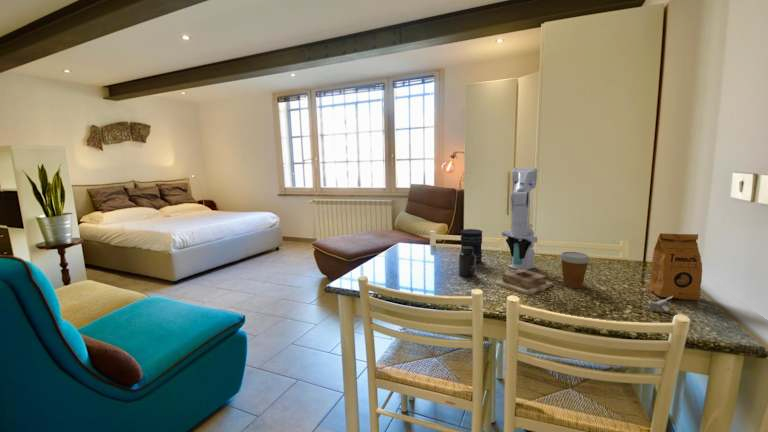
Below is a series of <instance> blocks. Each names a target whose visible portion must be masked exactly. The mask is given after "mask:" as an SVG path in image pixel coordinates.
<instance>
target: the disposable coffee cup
mask: <svg viewBox="0 0 768 432" xmlns="http://www.w3.org/2000/svg"><path fill="white" fill-rule="evenodd" d="M559 258H560V261H561V269H562V283H563V286H564V287H567V288H570V289H582V288H583V285H584V281H585V276H586V272H587V266H588V263H589V261H590V258H589V256H588V254H586V253H583V252H578V251H563V252H562V253H561V255H560V256H559Z"/></svg>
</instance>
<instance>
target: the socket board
mask: <svg viewBox="0 0 768 432" xmlns="http://www.w3.org/2000/svg"><path fill="white" fill-rule="evenodd" d="M494 284H495V285H497V286H500V287H503V288H506V289H507V290H511V291H514V292H517V293H520V294H523V295H525V296H529V295H531V294H535V293H537V292H540V291H543V290H546V289H548V288H550V287H553V286H554V282H550V281H548V280H547V275H545V274H542V273H538V272H535V271H532V270H529V269H528V270H525V269H518V270H517V269H514V270H511V271H508V272H504V273H502V279H499V280H495V281H494Z"/></svg>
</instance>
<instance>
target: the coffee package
mask: <svg viewBox="0 0 768 432" xmlns="http://www.w3.org/2000/svg"><path fill="white" fill-rule="evenodd" d="M698 239H699V234H698V233H697V234H696V233H661V232H660V233H659V234H658V237H657V241H656V243H655V245H654V247H653V253H652V260H651V261H652V262H651V268H650V269H651V270H650V277H649V278H650V279H649V289H648V290H649V292H652V293H653V294H655V295H656V296H658V297H660V298H665V299H667V298H668V297H671V296H673V298H672V299H675V300H676V299H678V300H687V301H688V300H689V301H690V300H691V301H698V300H699V299H700V298H701V285H702V280H703V278H702V277H703V263H702V259H701V253H700V251H699V246H698V242H697V240H698Z"/></svg>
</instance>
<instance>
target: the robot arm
mask: <svg viewBox="0 0 768 432" xmlns="http://www.w3.org/2000/svg"><path fill="white" fill-rule="evenodd" d="M511 180H512V185H513V192H511V193H510V211H511V219H510V220H511V222H510V223H511V225H510V226H511V227H510V231H509V230H508V231H507V230H503V231H501V237H506V239H505V241H506V244H507V245H508V248H509V251H510V256H511V264H509V265H507V267H508V268H510V269H511V268H512V269H514V270H518V269H525V270H528V271H529V270H532V269H534V268H536V267H537V265H535V255H536V253H535V250H534V244H535V243H538V236H535V235H534V233H535V231H534V230H533V229H532V228H531V227H530V226H528V225H529V224H528V223H529V222H528V221H529V208H530V201H531V200H530V199H531V198H530V197H531V191H532V190H533V189H535V188H536V186H537V182H538V181H537V180H538V169H537V167H527V168H525V167H524V168H523V167H521V168H518V167H514V168H513V169H512V175H511ZM514 243H518V244H519V257H520V259H522V264H521V265H516V264H513V254H514Z"/></svg>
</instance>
